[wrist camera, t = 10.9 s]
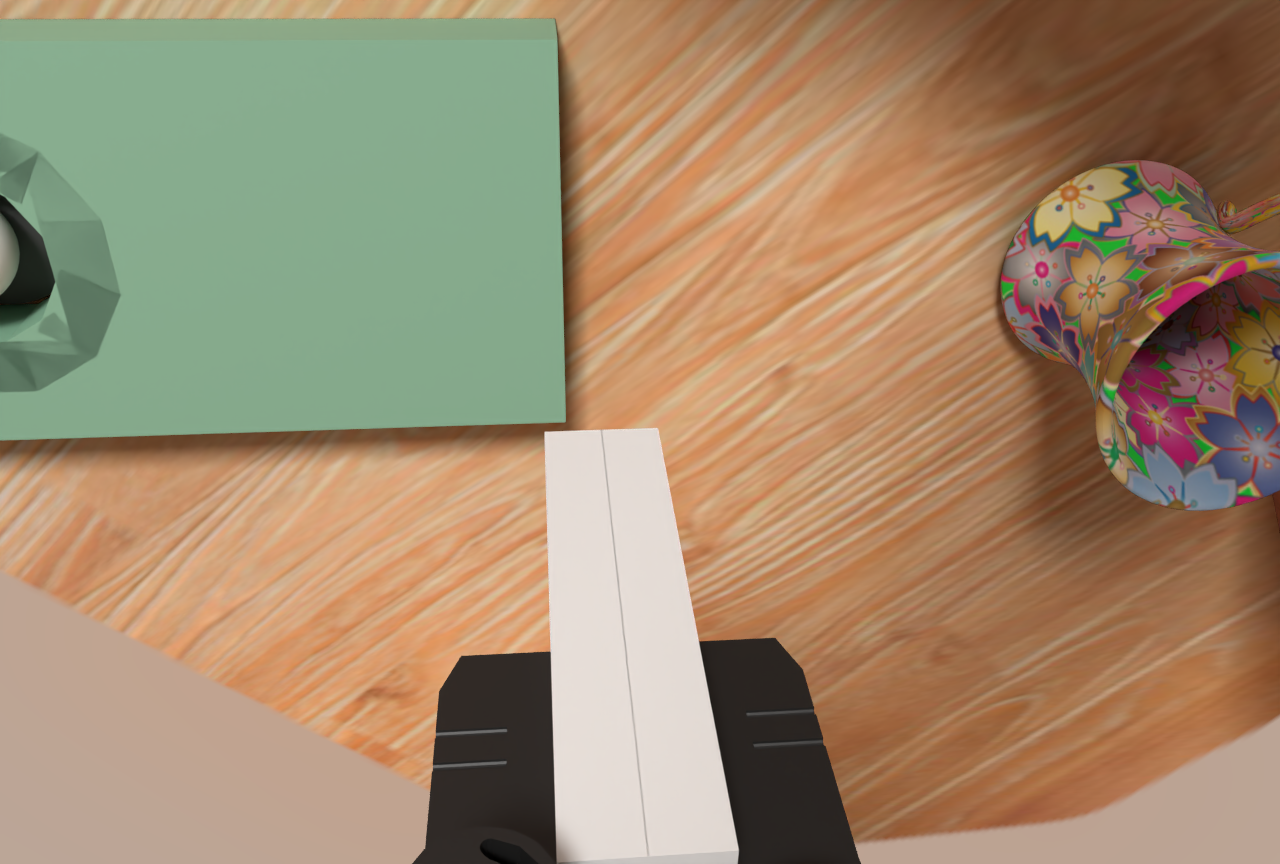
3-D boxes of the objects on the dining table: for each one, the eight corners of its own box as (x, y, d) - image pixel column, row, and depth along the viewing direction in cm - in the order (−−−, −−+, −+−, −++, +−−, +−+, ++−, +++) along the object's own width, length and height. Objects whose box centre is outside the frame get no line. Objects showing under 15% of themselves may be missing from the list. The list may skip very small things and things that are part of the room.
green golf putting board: (-275, 20, 35) (-396, 63, 30) (554, 18, 37) (559, 58, 32) (-118, 402, 42) (-196, 483, 38) (563, 382, 44) (568, 457, 40)
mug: (1074, 399, 47) (1204, 556, 38) (934, 274, 43) (1041, 415, 34) (1320, 189, 43) (1531, 309, 34) (1187, 29, 39) (1385, 117, 30)
